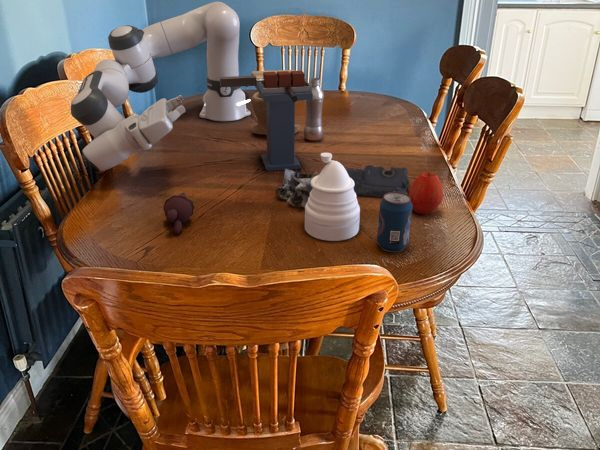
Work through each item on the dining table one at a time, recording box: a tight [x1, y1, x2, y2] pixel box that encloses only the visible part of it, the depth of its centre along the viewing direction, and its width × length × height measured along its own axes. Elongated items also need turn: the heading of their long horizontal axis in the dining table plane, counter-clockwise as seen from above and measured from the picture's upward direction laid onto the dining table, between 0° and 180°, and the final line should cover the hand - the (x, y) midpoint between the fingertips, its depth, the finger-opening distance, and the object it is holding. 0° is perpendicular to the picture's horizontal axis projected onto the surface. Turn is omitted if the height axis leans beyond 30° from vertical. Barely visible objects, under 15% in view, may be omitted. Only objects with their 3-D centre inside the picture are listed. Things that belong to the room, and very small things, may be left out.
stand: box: [250, 73, 313, 172], centre depth 164 cm, size 24×13×24 cm, turn 12°
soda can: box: [376, 192, 413, 253], centre depth 124 cm, size 7×7×12 cm
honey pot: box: [304, 152, 361, 242], centre depth 130 cm, size 13×13×18 cm
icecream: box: [162, 192, 195, 235], centre depth 135 cm, size 7×7×15 cm
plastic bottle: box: [303, 77, 325, 141], centre depth 184 cm, size 6×7×20 cm
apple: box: [408, 171, 444, 216], centre depth 140 cm, size 8×8×11 cm
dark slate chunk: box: [345, 164, 410, 198], centre depth 156 cm, size 15×22×5 cm
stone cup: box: [251, 91, 301, 136], centre depth 189 cm, size 15×12×15 cm
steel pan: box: [257, 78, 312, 103], centre depth 150 cm, size 20×13×2 cm, turn 12°
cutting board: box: [251, 69, 297, 79], centre depth 164 cm, size 10×13×1 cm
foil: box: [275, 169, 319, 208], centre depth 147 cm, size 12×11×15 cm
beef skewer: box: [220, 70, 307, 88], centre depth 152 cm, size 4×23×4 cm, turn 102°
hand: (183, 102), depth 150 cm, fingers open, 8 cm apart
